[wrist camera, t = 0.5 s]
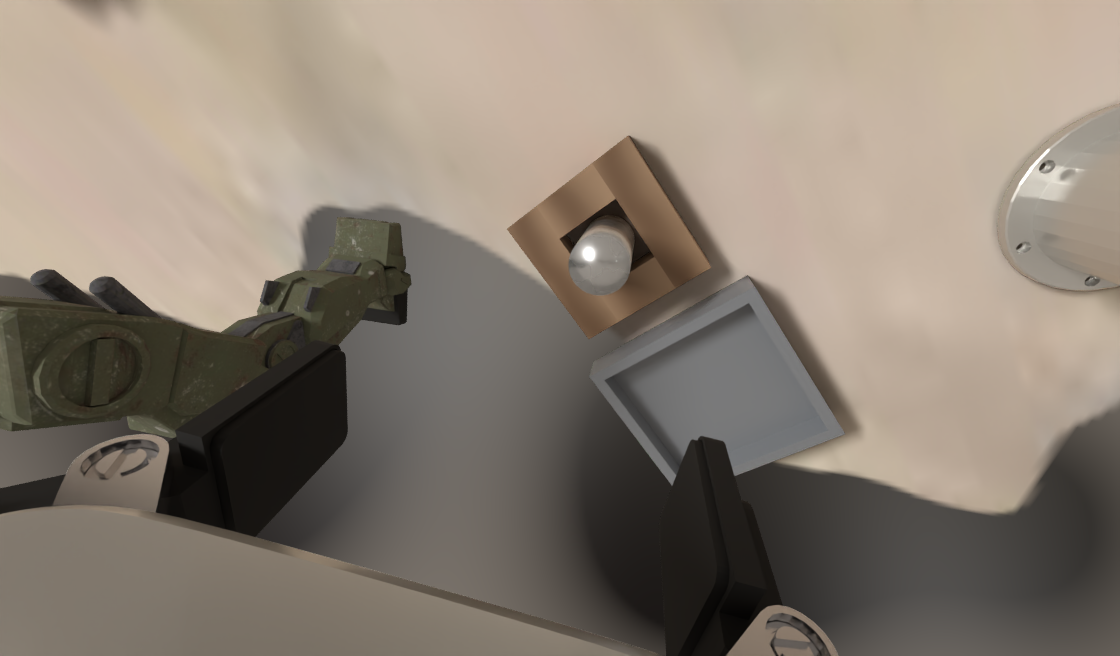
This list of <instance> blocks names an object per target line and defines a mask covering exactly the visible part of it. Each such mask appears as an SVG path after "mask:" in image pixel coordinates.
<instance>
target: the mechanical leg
mask: <svg viewBox="0 0 1120 656" xmlns="http://www.w3.org/2000/svg"><path fill="white" fill-rule="evenodd" d="M405 268H406V260H405V256H403V248H402V237H401V226H400V224H399V223H388V222H384V221H376V220H367V219H354V218H350V217H346V218H345V217H344V218H343V217H338V218H337V224H336V235H335V243H334V247H329V258H328V259H326V261H324V262H323V263H322V264H321V266H320V267H319V268H318V269H317V270H310V271H295V272H293V273H290V274H287V275H285V276H282V277H280V278H277V279H276V280H274V281H267V280H266V281H265V285H264V288H263V292H262V295H261V299H260V302H261V304H260V306H259V308H258V310H257V313H258V315H257V316H253V317H250V318H246V319H242V320H239V321H237V322H236V323H234V324H233V325H231V326H230V327H228V328H227V329H225V330H224V331H222V332H221V333H219V332H214V331H209V330H203V329H196V328H193V327H190V326H187V325H184V324H181V323H176V322H175V321H170V320H165V319H162V318H161V317H160V316H158V315H157V314H156V313H155V312H154V311H152V310H151V309H150V308H149V307H148V306H146V305H145V304H144V303H143V302H142V301H140V300H139V299H138V298H137V297H136V296H135V295H133V294H132V293H131V292H130V291H129V290H127V289H126V288H125V287H124V286H123V285H121V284H120V283H119V282H118V281H117V280H115V279H114V278H113V277H105V276H104V277H99V278H97V279H95V280H93V281H92V282H91V283H90V287H89V290H90V292H91V293H93V294H94V295H95V296H97V297H98V298H99V299H101V300H102V301H103V302H104V303H106V304H107V305H109V306H110V307H111V308H112V309H114V310H115V311H113V310H107V309H105V308H104V307H102V306H101V305H100V304H98V303H97V302H96V301H94V300H93V299H91V298H90V297H89V296H88V295H87V294H85V293H84V292H83V291H81V290H80V289H79V288H77V287H76V286H75V285H73V284H72V283H71V282H69V281H68V280H67V279H65V278H64V277H63V276H62V275H60V274H59V273H58V272H56V271H55V270H49V269H44V270H40V271H38V272H36V273H34V274H33V275H32V276H31V284H32V285H33V286H35V287H36V288H38V289H39V290H41V291H42V292H43V293H45V294H46V295H47V296H49V297H50V298H52V299H53V300H47V299H34V298H22V297H8V296H0V429H3V430H8V431H19V430H29V429H39V428H48V427H57V426H68V425H76V424H87V423H97V422H105V421H116V420H120V419H121V418H122V417H123V416H127V420H128V426H129V428H130V429H132V430H137V431H142V432H147V433H152V434H156V435H161V436H166V437H171V438H175V437H176V432H175V430H176V429H178V428H179V427H181V426H182V425H184V424H185V423H187V422H188V421H190V420H191V419H193V418H195V417H196V416H198V415H199V414H201V413H202V412H204V411H205V410H207V409H208V408H210V407H212V406H213V405H215V404H216V403H218V402H219V401H221V400H222V399H224V398H225V397H227V396H229V395H230V394H232V393H233V392H235V391H236V390H238V389H239V388H241V387H242V386H244V385H246V384H247V383H249V382H250V381H252V380H253V379H255V378H256V377H258V376H259V375H261V374H263V373H264V372H266V371H267V370H269V369H270V368H272V367H273V366H275V365H276V364H278V363H280V362H281V361H283V360H284V359H286V358H287V357H289V356H290V355H292V354H293V353H295V352H297V351H298V350H300V349H301V348H303V347H304V346H306V345H307V344H309V343H310V342H312V341H314V340H320V341H324V342H328V343H332V344H336V345H339V344H340V343H341V341H342V340H343V339H344V338H345V337H346V336H347V335H348V334H349V332H350V331H351V330H352V329H353V328H354V327H355V326H356V325H357V324H358V323H359V321H360V320H368V321H374V322H381V323H387V324H394V325H401V324H404V323H406V322H407V321H406V320H407V290H408V288H409V286H410V285H411V278H410V274H408V273H405V272H404V270H405Z"/></svg>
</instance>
